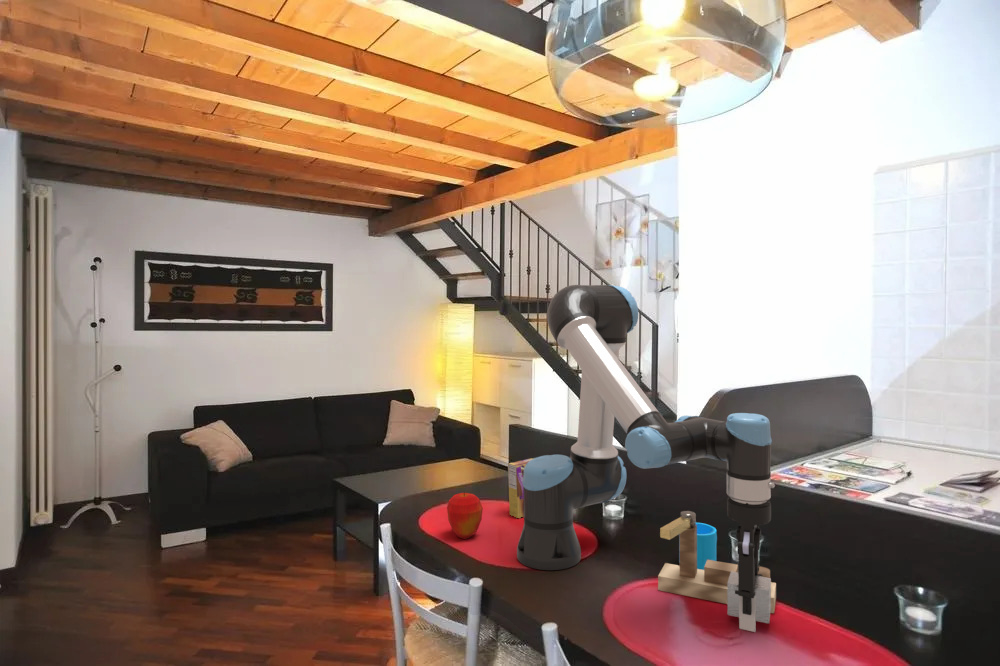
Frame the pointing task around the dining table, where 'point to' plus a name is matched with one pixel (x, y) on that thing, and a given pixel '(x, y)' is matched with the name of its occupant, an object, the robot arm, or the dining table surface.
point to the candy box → (516, 487)
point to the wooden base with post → (701, 574)
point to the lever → (678, 525)
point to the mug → (705, 544)
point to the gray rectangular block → (760, 591)
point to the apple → (464, 514)
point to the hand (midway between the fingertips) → (749, 621)
